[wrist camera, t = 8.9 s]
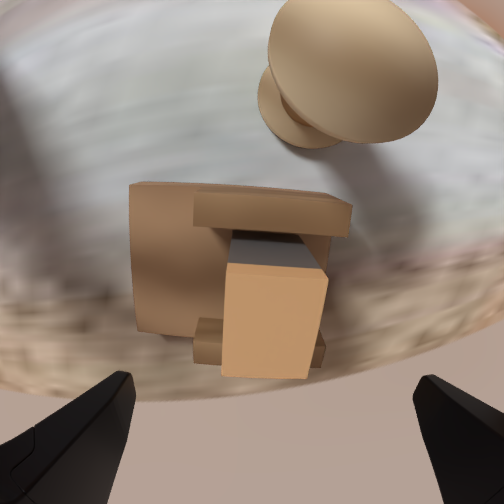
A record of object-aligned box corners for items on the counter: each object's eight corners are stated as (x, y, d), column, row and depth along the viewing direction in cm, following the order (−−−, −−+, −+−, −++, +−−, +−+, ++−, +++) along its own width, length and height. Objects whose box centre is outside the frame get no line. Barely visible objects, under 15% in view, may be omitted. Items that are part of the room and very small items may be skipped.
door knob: (261, 48, 14) (275, -29, 6) (359, 64, 15) (432, 14, 7) (253, 143, 16) (262, 128, 8) (354, 155, 16) (435, 158, 8)
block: (227, 306, 17) (221, 376, 11) (232, 230, 16) (226, 272, 10) (288, 310, 17) (306, 378, 11) (298, 235, 16) (328, 279, 10)
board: (141, 181, 17) (109, 190, 12) (326, 193, 17) (352, 205, 13) (146, 315, 19) (125, 354, 15) (306, 326, 20) (320, 367, 16)
